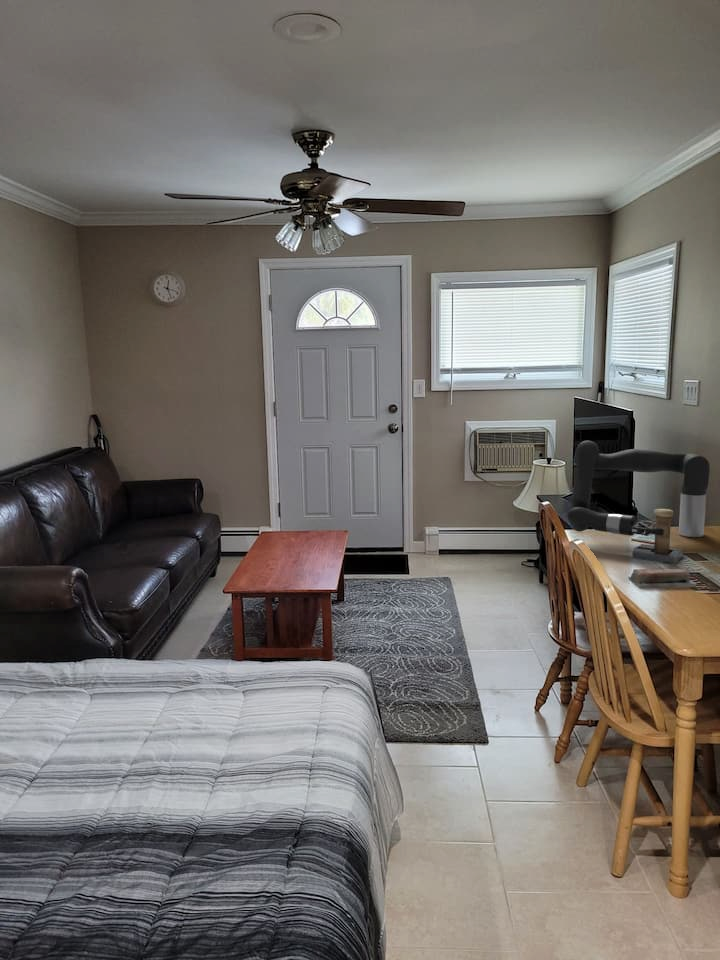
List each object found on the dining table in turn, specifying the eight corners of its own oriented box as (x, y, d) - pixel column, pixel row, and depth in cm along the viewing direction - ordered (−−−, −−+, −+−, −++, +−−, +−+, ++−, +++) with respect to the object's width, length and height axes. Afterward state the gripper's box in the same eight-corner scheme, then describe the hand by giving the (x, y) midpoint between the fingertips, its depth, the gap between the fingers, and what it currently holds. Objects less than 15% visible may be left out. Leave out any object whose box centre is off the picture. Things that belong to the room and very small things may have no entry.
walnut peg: (654, 554, 254) (656, 508, 251) (672, 556, 250) (675, 510, 247) (649, 558, 249) (651, 511, 246) (668, 561, 245) (670, 513, 242)
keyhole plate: (674, 563, 241) (674, 556, 241) (630, 557, 251) (630, 550, 250) (682, 556, 250) (682, 549, 250) (639, 550, 260) (639, 543, 259)
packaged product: (640, 575, 216) (628, 566, 226) (639, 589, 217) (628, 580, 227) (697, 574, 216) (683, 564, 226) (696, 588, 217) (682, 578, 226)
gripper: (615, 518, 251) (662, 523, 241) (627, 511, 262) (672, 516, 252) (614, 538, 252) (661, 544, 242) (626, 530, 263) (671, 535, 253)
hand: (666, 530), depth 247 cm, fingers open, 8 cm apart
